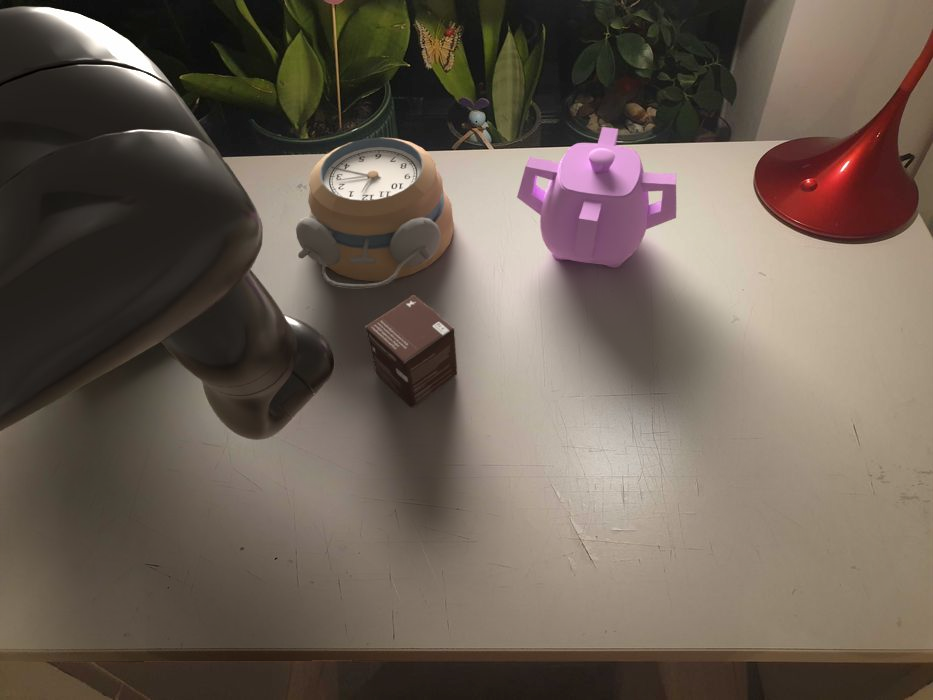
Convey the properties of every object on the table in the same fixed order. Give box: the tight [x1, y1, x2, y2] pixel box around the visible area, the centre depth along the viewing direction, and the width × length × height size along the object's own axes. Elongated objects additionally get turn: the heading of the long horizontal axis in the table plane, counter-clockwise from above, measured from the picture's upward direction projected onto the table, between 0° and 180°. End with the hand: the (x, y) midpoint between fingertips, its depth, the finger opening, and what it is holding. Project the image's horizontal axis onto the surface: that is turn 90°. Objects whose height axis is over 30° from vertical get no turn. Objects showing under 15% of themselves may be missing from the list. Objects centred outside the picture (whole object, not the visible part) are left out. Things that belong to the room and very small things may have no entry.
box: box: [364, 294, 458, 408], centre depth 63 cm, size 6×6×7 cm
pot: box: [516, 126, 677, 268], centre depth 72 cm, size 18×17×12 cm
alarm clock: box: [295, 137, 455, 290], centre depth 74 cm, size 17×9×23 cm
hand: (84, 216), depth 69 cm, fingers open, 8 cm apart
